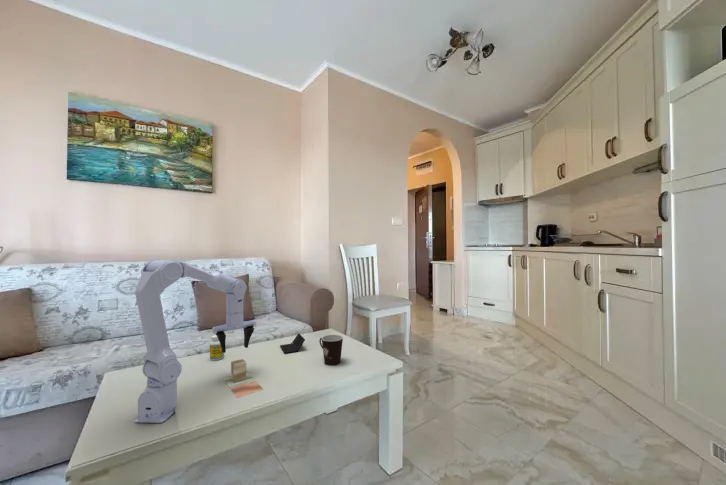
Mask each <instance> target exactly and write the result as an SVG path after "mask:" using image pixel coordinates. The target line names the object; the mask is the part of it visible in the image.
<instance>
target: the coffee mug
mask: <svg viewBox="0 0 726 485" xmlns="http://www.w3.org/2000/svg"><path fill="white" fill-rule="evenodd" d="M343 339H344V337H343V336H342V335H340V334H327V335H324V336H322V337H320V338H319V345H320V348H321V349H322V351H323V360H324V364H325V365H326V366H330V367H331V366H337V365H340V364H341V359H342V349H343V341H344V340H343Z"/></svg>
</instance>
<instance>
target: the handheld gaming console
mask: <svg viewBox="0 0 726 485" xmlns="http://www.w3.org/2000/svg"><path fill="white" fill-rule="evenodd" d="M305 341H306V339H305V338H304V337H303V336H302V335H301V333H299V332H298V333H297V335H295V338H294V339H293V341H292V342H290V343H287V344H280V345H279V348H280V349H281V351H282V352H283V354H284V355H291V354H297V353H298V352H299V350H300V348H301V347H302V345H303V344H304V343H305Z"/></svg>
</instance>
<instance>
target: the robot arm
mask: <svg viewBox="0 0 726 485" xmlns="http://www.w3.org/2000/svg"><path fill="white" fill-rule="evenodd" d="M140 274H141V275H140V278H139V279H138V280H139V281H138V283H137V286H136V289H135V290H134V291H135V298H136V303H137V309H138V313H139V318H140V323H141V327H142V332H143V336H144V341H145V343H144V344H145V346H146V351H147V352H146V353H145V354H144V355H143V361H144V362H143V366H142V369H141V370H142V373H143V375H144V377H146V378H147V380H146V387H145V389H144V390H143V392H142V393H140V395H139V396H138V398H137V418H136V419H135V420H134V423H152V424H153V423H157V424H161V423H164V422H165V421H166V420H168V419H169V418H170V417H172V415H174V414H175V413H176V408H177V407H178V378H179V377H180V376H181V373H182V370H183V367H182V363H181V362H180V361H179V360H178V359H177V355H176V353H175V351H174V350H173V349H172V348H171V345H170V342H169V341H170V340H169V337H168V331H167V326H166V321H165V320H166V319H165V316H164V311H163V305H162V301H161V295H162V293H163V292H164V291H165V290H166V289H167V288H169V287H170V286H171V285H174V283H175V282H177V281H179V279H181V278H186V277H187V278H191V279H195V280H198V281H201V282H205V283H206V286H207V287H208V288H210V289H213V290H217V291H219V292H223V293H224V294H225V302H226V304H225V307H226V308H225V311H226V314H225V319H226V321H225V323H224V324H221V325H217V326H213V327H212V331H211V332H212V334H214V335H217V337H218V339H219V342H220V344H221V348H222V352H223V353H224V354H225V353H226V351H227V349H226V339H227V338H226V337H227V334H226V333H225V332H229V331H235V330H241V329H243V337H244V338H243V347H244V348H245V349H247V348H249V343H250V340H251V337H252V335H253V333H254V332H255V328H256V327H257V321H256V320H244V298H245V294H246V292H247V290H248V286H247V284H246V282H245V280H244V279H241V278H235V276H234V275H231V274H230V275H227V274H225V273H224V271H222V270H217V271H216V270H214V271H212V272H210V271H207V270H205V269H202V268H199V267H197V266H194V265H192V264H189V263H187V262H183V261H178V260H175V259H169V260H168V259H167V260H166V259H164V260H163V259H159V258H157V259H156V258H154V259H151V260H150V261H148V262H147V263H146V264H145V265H144V266H143V267H142V268H141V269H140ZM254 327H255V328H254Z"/></svg>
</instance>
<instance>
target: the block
mask: <svg viewBox="0 0 726 485" xmlns="http://www.w3.org/2000/svg"><path fill="white" fill-rule="evenodd" d="M246 373H247V361H245V359H243V358H240V359H237V360H233V361H231V362H230V377H231V379H232V381H233V382H234V383H236V382H239V381H243V380H246Z"/></svg>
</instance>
